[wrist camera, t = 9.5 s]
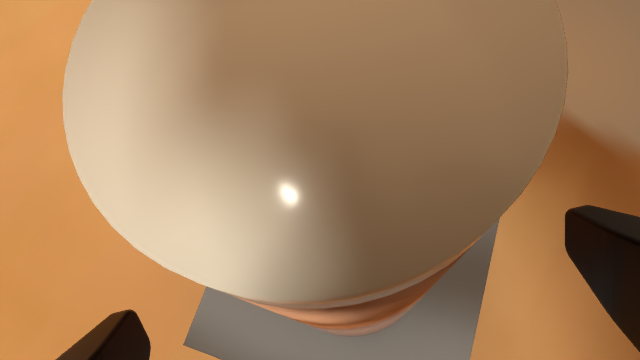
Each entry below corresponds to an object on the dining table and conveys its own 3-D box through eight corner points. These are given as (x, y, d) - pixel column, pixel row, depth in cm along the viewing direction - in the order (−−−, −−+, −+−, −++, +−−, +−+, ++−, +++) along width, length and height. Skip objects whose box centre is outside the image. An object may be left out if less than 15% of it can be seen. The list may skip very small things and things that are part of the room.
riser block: (438, 430, 17) (451, 447, 15) (210, 344, 20) (183, 344, 17) (489, 196, 20) (508, 173, 18) (286, 143, 22) (274, 115, 20)
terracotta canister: (373, 370, 16) (382, 440, 4) (250, 280, 17) (-35, 116, 5) (452, 238, 17) (655, -36, 5) (331, 166, 19) (256, -177, 6)
